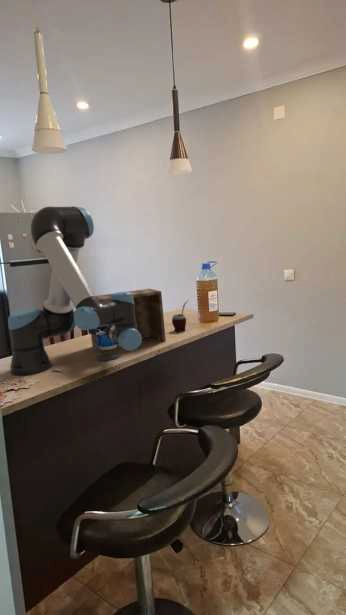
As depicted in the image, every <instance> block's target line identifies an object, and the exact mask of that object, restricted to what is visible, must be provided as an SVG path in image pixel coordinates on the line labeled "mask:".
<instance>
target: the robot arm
mask: <svg viewBox="0 0 346 615" xmlns="http://www.w3.org/2000/svg"><path fill="white" fill-rule="evenodd" d="M94 229H95V226H94V220H93V218H92V215H91V213H90V212H89V211H88V209H86V208H84V207H81V206H74V205H73V206H72V205H71V206H45V207H43V208H40V209H39V210H38V211H36V213H35V214H34V216H33V218H32V220H31V223H30V234H31V239H32V240H33V243H34V245H35V246H36V248H37V250H38V251H42V253H43V254H44V256H45V257H46V260H47V261H48V263H49V264H50V266H51V268H52V270H51V276H50V277H51V278H50V285H49V291H48V299H46V300H44V302H43V305H42V309H40V310H39V308H37V307H30V308H25V309H20V310H18V311H15V312H13V313H11V314H10V315H9V316H8V318H7V319H8V320H7V323H8V329H9V330H8V332H9V335H10V343H11V349H12V356H11V362H10V365H9V366H10V367H9V369H10V373H11V374H12V375H13V376H26V375H27V376H28V375H33V374H37V373H41V372H44V371H46V370H49V369H50V368H51V367H52V362H51V358H50V356H49V355H48V353H47V351H46V348H45V344H44V340H45V339H50V338H54V337H58V336H62V335H66V334H67V333H70V332H72V331H74V329H75V328H76V327H77V328H78V329H79V330H82V331H88V335H91V334H92V335H95V336H97V337H99V336H101V334H104V335H107V337H108V338H109V339H110V340H111V341H113V342H114V343H116V344H118V345H117V346H119V347H120V348H122V349H123V350H126V351H134V350H136V349H138V348H139V347H140V345H141V344H142V339H143V338H141V334H140V333H139V331H138V330H137V325H136V318H135V308H134V305H135V304H134V299H133V295H132V293H130V292H128V291H119V292H114V294H113V293H111V294H112V295H111V301H107V302H102V303H100V302H99V300H98V299H97V297H96V296H97V295H96V294H95V292H94V291H93V289H92V287H91V286H90V284H89V282H88V280H87V279H86V277H85V276H84V274H83V272H82V271H81V269H80V267H79V265H78V259H79V258H78V257H79V253H80V249H82V248H83V247H84V246H85V243H86V242H85V241H86V240H87V239H89V238H91V237H92V236H93V234H94ZM71 302H72V303H71ZM109 324H110V325H109ZM104 325H109V326H104ZM101 326H103V327H101Z"/></svg>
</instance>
